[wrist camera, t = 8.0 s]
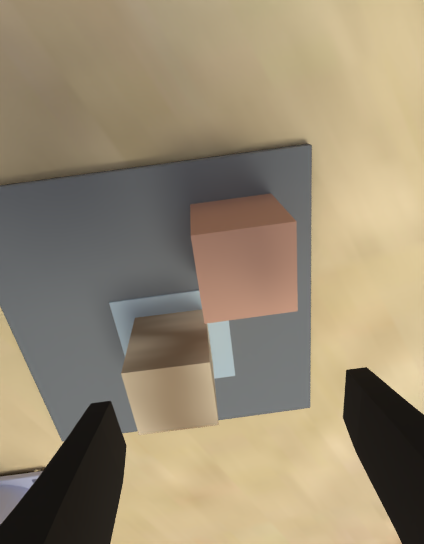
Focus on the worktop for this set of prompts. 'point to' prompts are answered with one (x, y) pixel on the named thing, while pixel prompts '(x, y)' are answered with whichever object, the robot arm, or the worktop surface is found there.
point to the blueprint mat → (145, 280)
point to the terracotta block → (244, 257)
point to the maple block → (170, 373)
